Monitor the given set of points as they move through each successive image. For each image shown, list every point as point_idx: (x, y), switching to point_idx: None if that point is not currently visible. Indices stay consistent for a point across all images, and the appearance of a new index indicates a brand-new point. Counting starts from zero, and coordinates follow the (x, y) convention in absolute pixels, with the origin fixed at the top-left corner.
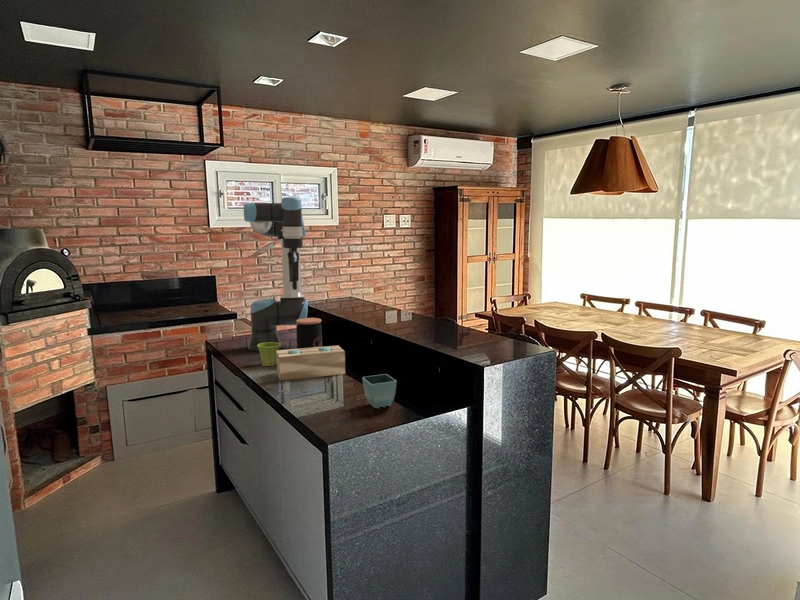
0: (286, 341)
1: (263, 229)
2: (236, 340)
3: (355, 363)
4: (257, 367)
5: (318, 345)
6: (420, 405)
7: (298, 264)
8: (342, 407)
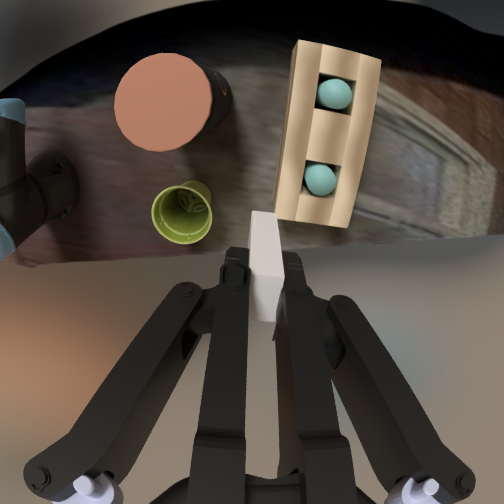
0: None
1: None
2: None
3: (279, 6)
4: None
5: (220, 79)
6: None
7: (431, 424)
8: (497, 173)
